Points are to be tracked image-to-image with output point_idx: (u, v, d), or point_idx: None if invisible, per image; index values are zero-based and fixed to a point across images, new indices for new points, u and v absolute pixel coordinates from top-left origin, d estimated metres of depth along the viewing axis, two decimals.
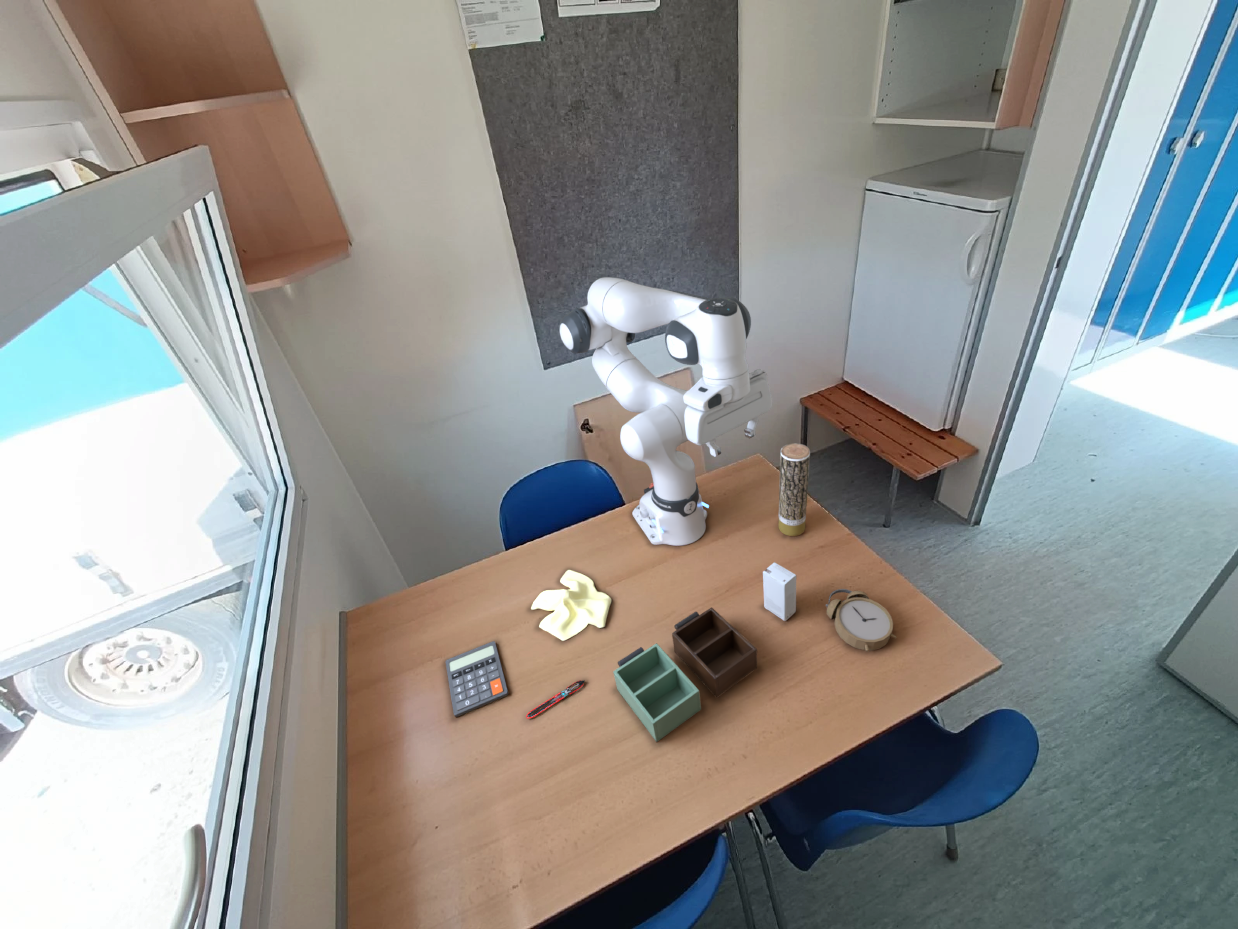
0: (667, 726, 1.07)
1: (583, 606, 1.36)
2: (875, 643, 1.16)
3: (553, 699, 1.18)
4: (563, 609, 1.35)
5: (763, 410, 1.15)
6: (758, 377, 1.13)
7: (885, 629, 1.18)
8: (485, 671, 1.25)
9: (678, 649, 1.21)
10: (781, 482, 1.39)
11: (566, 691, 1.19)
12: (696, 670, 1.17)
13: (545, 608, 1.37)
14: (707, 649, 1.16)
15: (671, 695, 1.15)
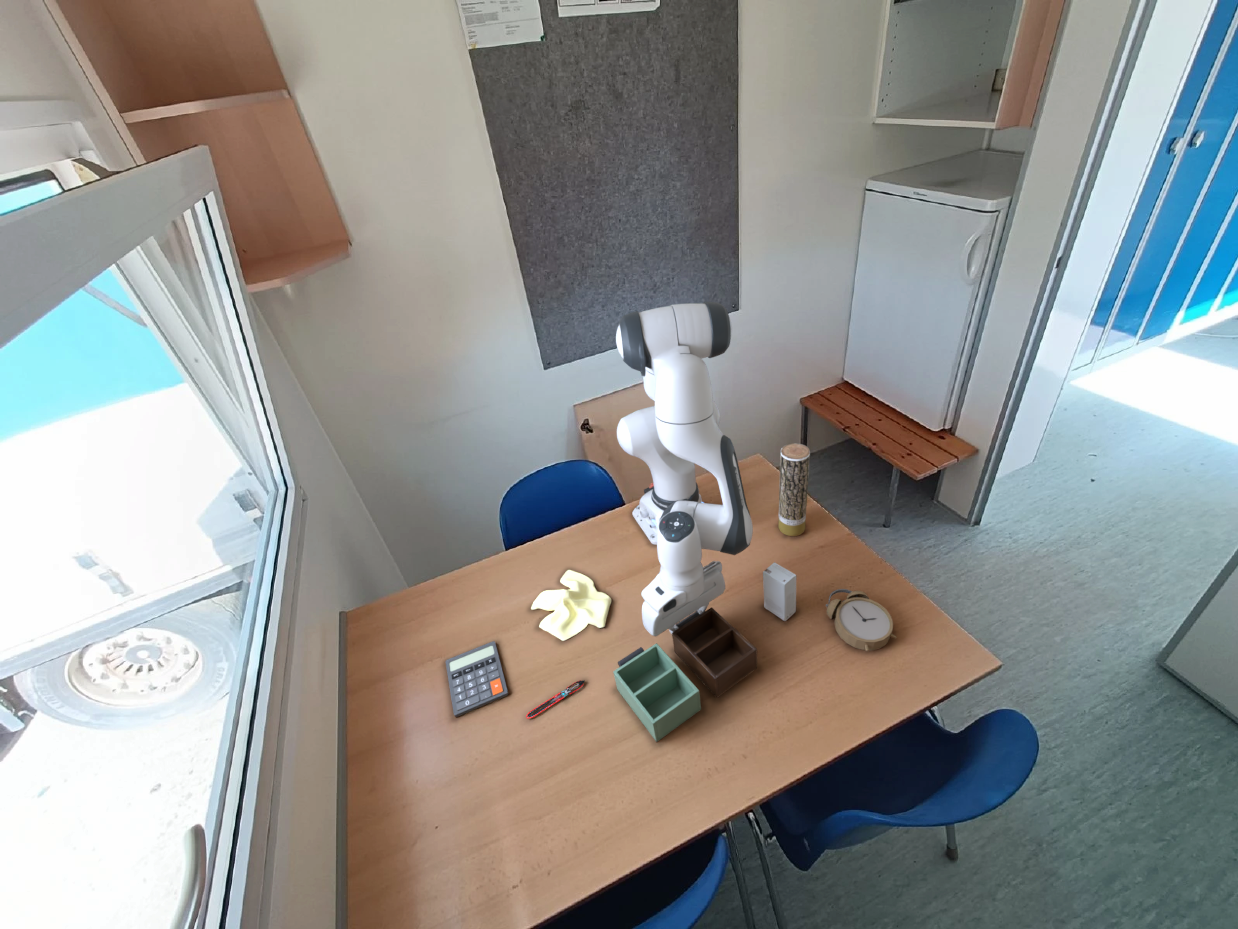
0: (667, 726, 1.07)
1: (583, 606, 1.36)
2: (875, 643, 1.16)
3: (553, 699, 1.18)
4: (563, 609, 1.35)
5: (716, 595, 1.23)
6: (713, 568, 1.21)
7: (885, 629, 1.18)
8: (485, 671, 1.25)
9: (678, 649, 1.21)
10: (781, 482, 1.39)
11: (566, 691, 1.19)
12: (696, 670, 1.17)
13: (545, 608, 1.37)
14: (707, 649, 1.16)
15: (671, 695, 1.15)
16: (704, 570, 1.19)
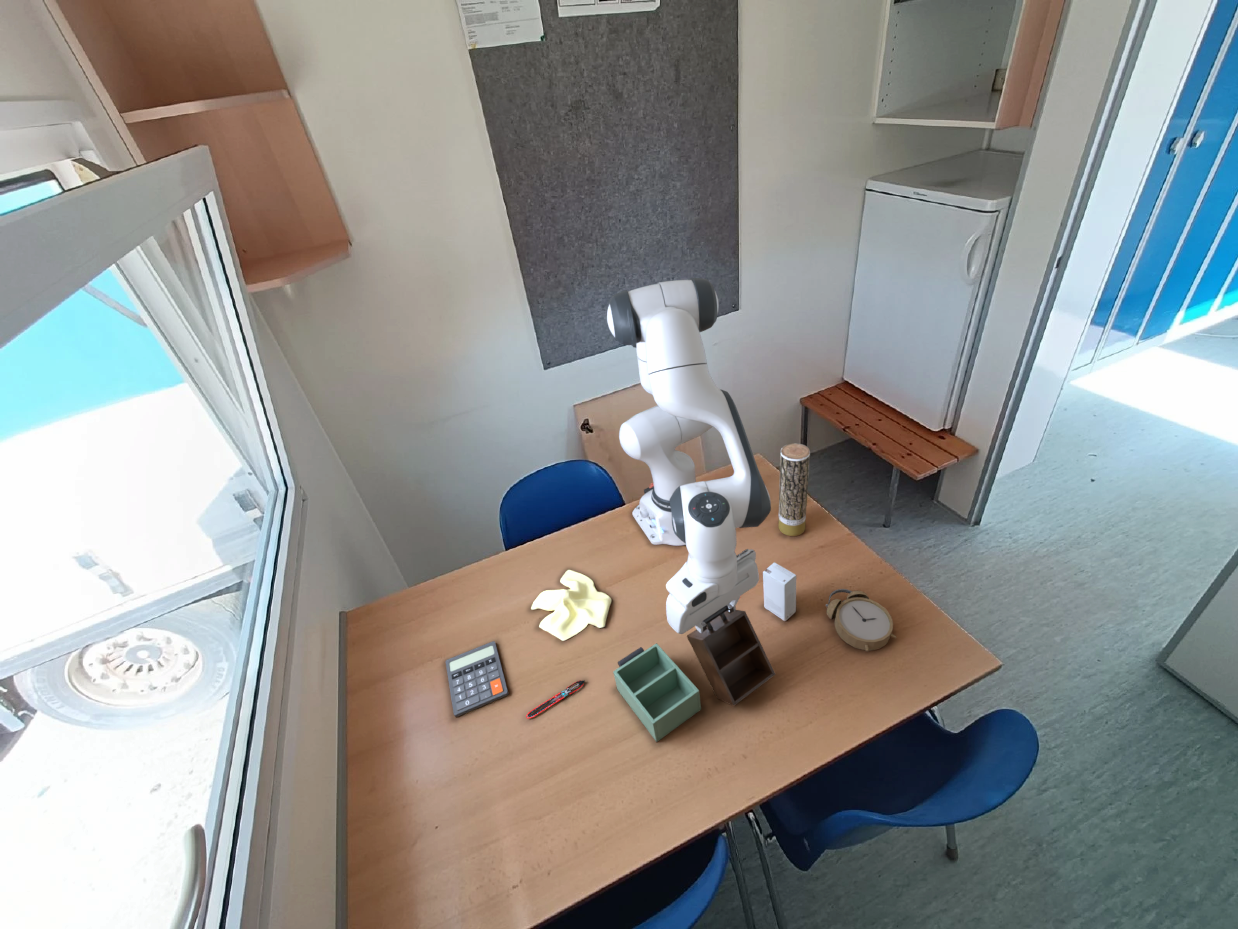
0: (667, 726, 1.07)
1: (583, 606, 1.36)
2: (875, 643, 1.16)
3: (553, 699, 1.18)
4: (563, 609, 1.35)
5: (749, 588, 1.09)
6: (746, 558, 1.07)
7: (885, 629, 1.18)
8: (485, 671, 1.25)
9: (697, 646, 1.11)
10: (781, 482, 1.39)
11: (566, 691, 1.19)
12: (708, 672, 1.11)
13: (545, 608, 1.37)
14: None
15: (671, 695, 1.15)
16: (736, 559, 1.05)
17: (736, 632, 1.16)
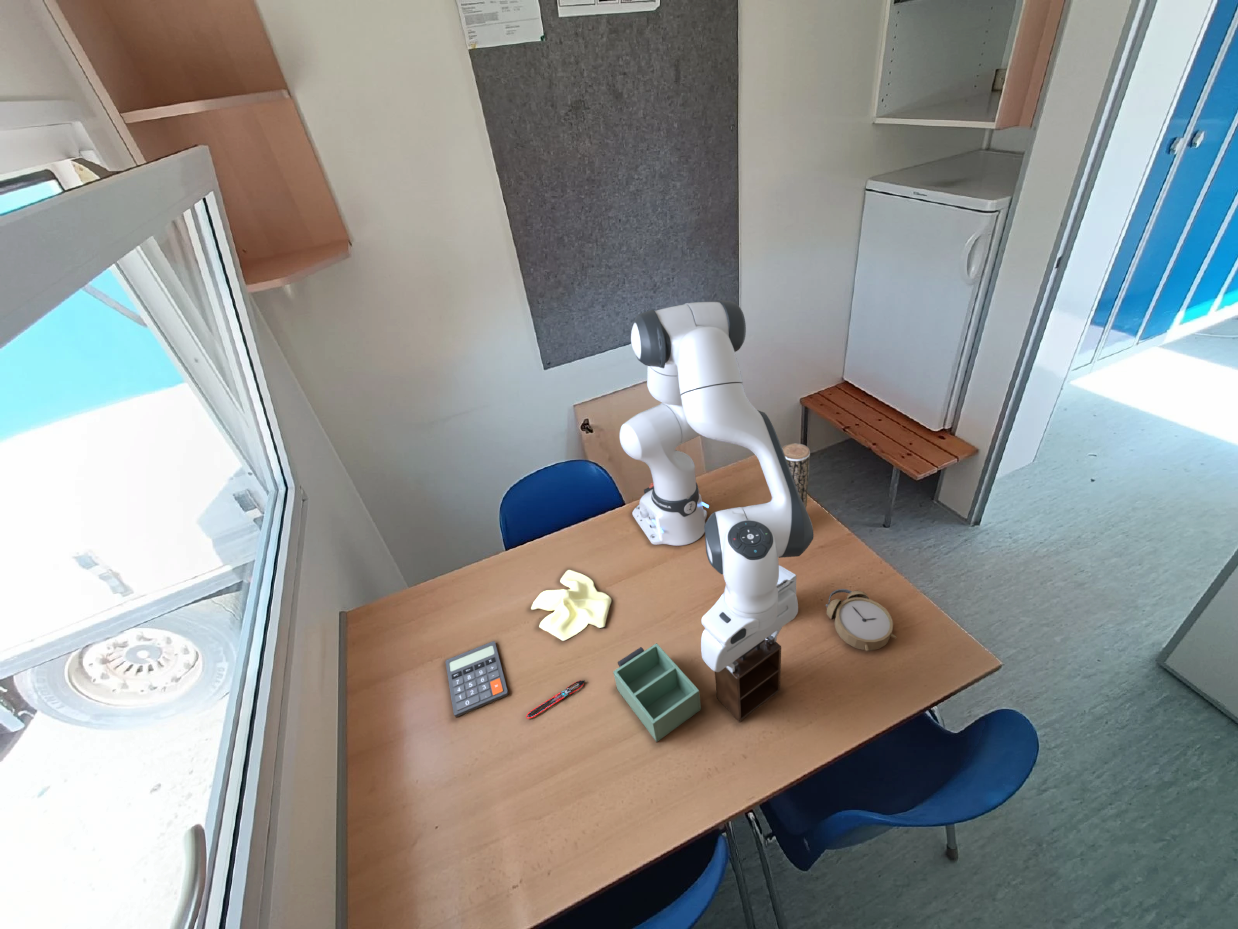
0: (667, 726, 1.07)
1: (583, 606, 1.36)
2: (875, 643, 1.16)
3: (553, 699, 1.18)
4: (563, 609, 1.35)
5: (787, 620, 1.02)
6: (785, 589, 1.00)
7: (885, 629, 1.18)
8: (485, 671, 1.25)
9: (723, 670, 1.04)
10: None
11: (566, 691, 1.19)
12: (722, 687, 1.08)
13: (545, 608, 1.37)
14: None
15: (671, 695, 1.15)
16: None
17: None
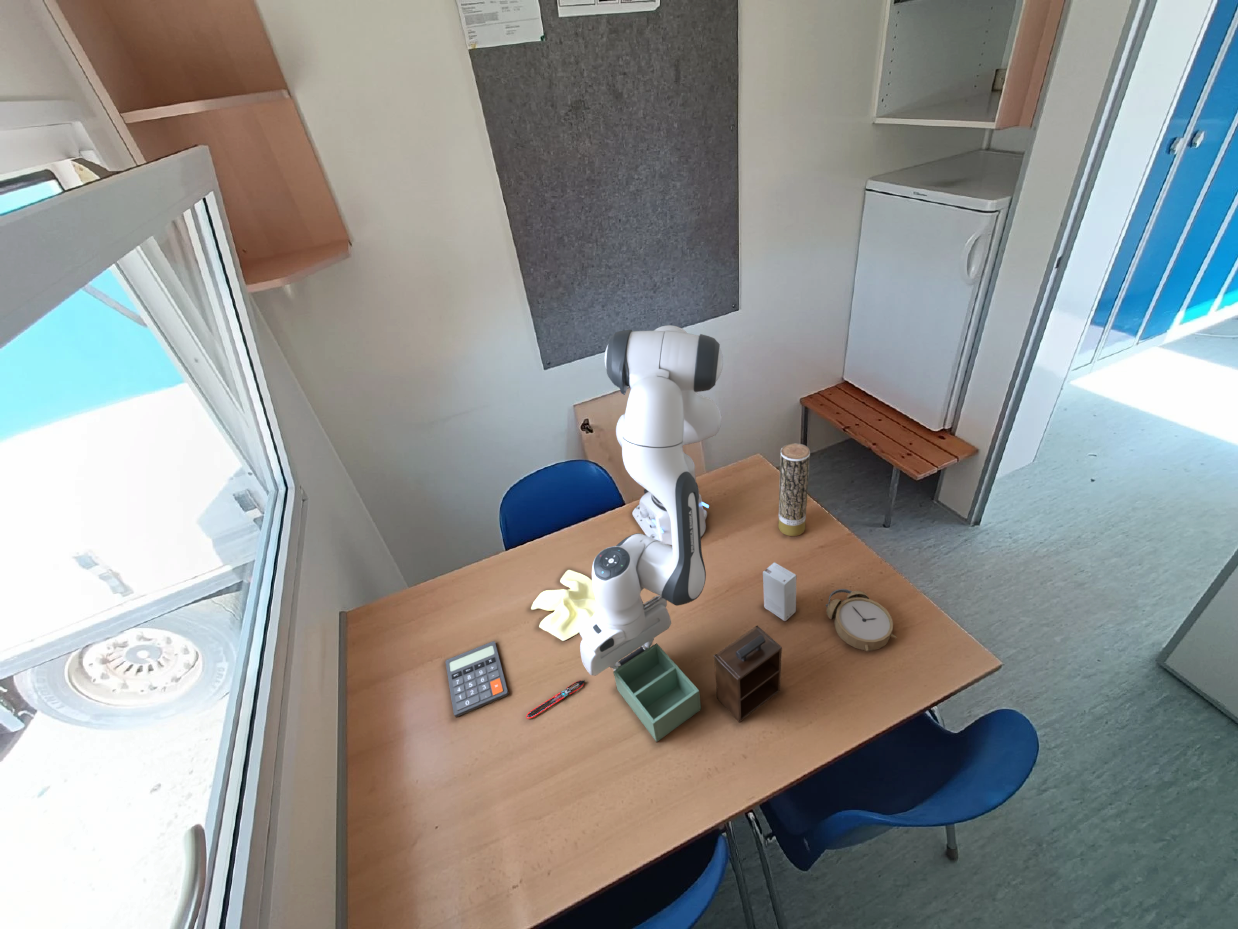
0: (667, 726, 1.07)
1: (583, 606, 1.36)
2: (875, 643, 1.16)
3: (553, 699, 1.18)
4: (563, 609, 1.35)
5: (661, 631, 1.18)
6: (656, 604, 1.15)
7: (885, 629, 1.18)
8: (485, 671, 1.25)
9: (724, 671, 1.04)
10: (781, 482, 1.39)
11: (566, 691, 1.19)
12: (722, 688, 1.08)
13: (545, 608, 1.37)
14: None
15: (671, 695, 1.14)
16: (646, 606, 1.14)
17: None
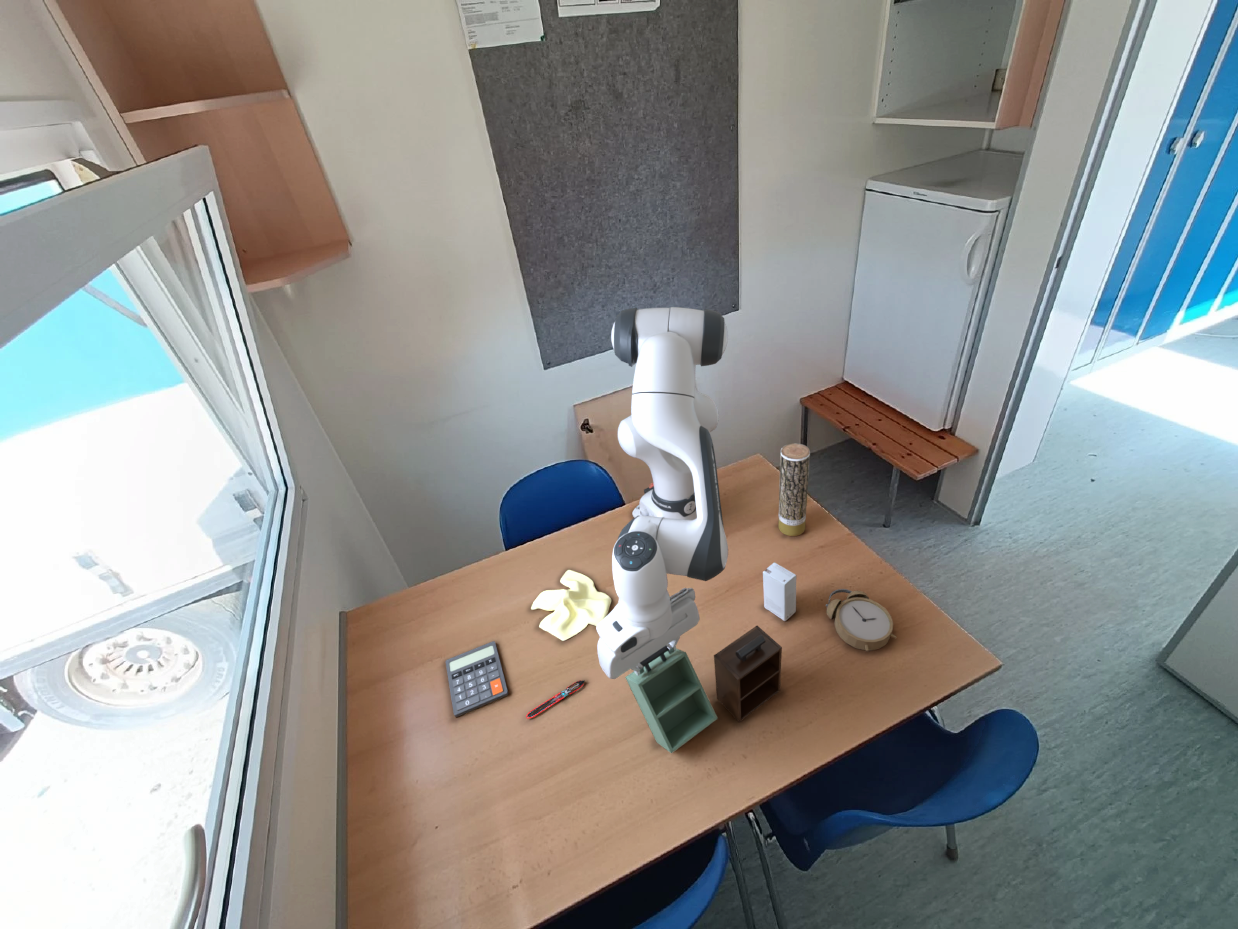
0: None
1: (583, 606, 1.36)
2: (875, 643, 1.16)
3: (553, 699, 1.18)
4: (563, 609, 1.35)
5: (688, 628, 1.04)
6: (684, 597, 1.01)
7: (885, 629, 1.18)
8: (485, 671, 1.25)
9: (724, 671, 1.04)
10: (781, 482, 1.39)
11: (566, 691, 1.19)
12: (722, 688, 1.08)
13: (545, 608, 1.37)
14: None
15: None
16: (673, 599, 0.99)
17: None
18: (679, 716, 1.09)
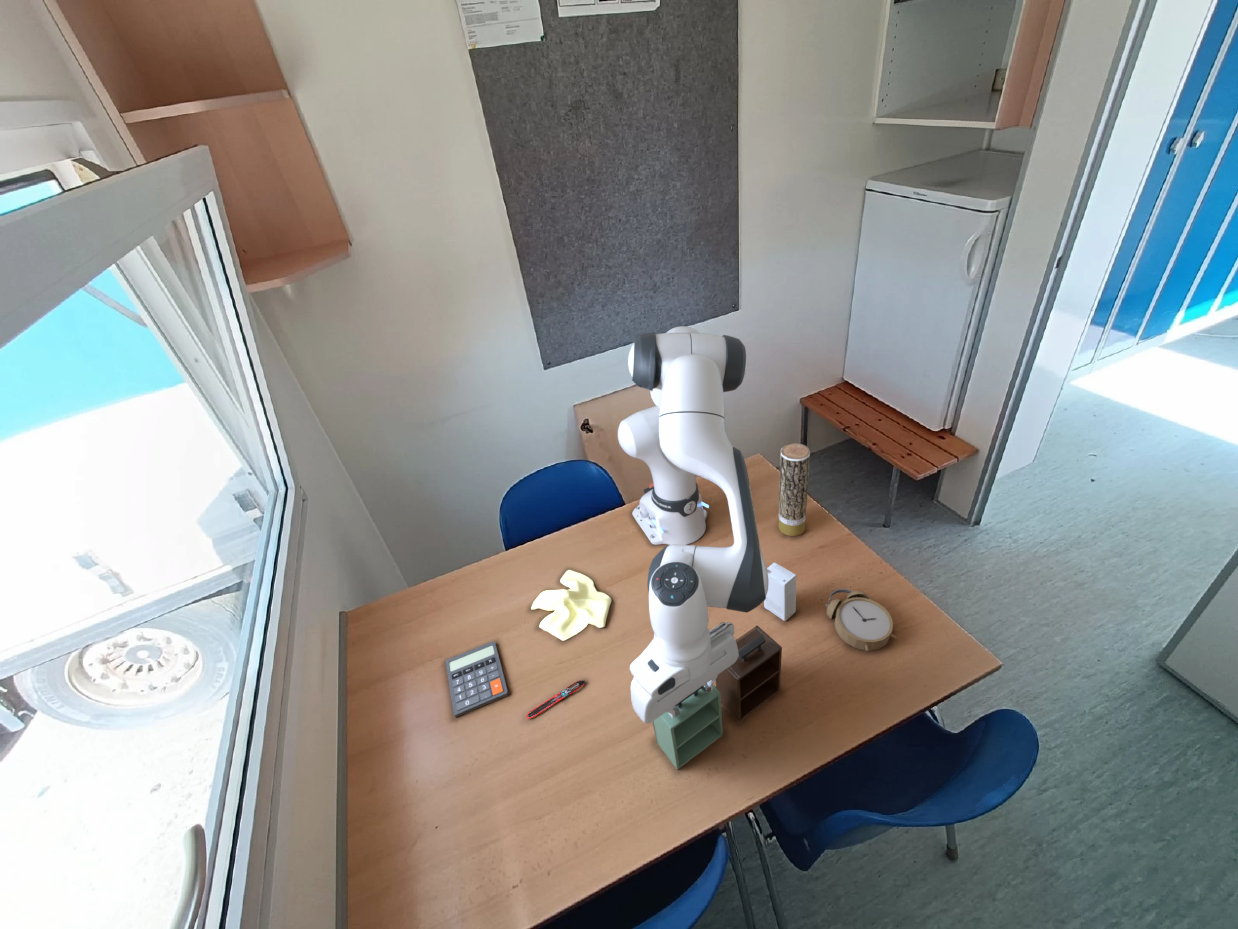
0: None
1: (583, 606, 1.36)
2: (875, 643, 1.16)
3: (553, 699, 1.18)
4: (563, 609, 1.35)
5: (727, 665, 0.96)
6: (723, 632, 0.93)
7: (885, 629, 1.18)
8: (485, 671, 1.25)
9: (724, 671, 1.04)
10: (781, 482, 1.39)
11: (566, 691, 1.19)
12: (722, 688, 1.08)
13: (545, 608, 1.37)
14: None
15: None
16: (711, 635, 0.92)
17: None
18: None
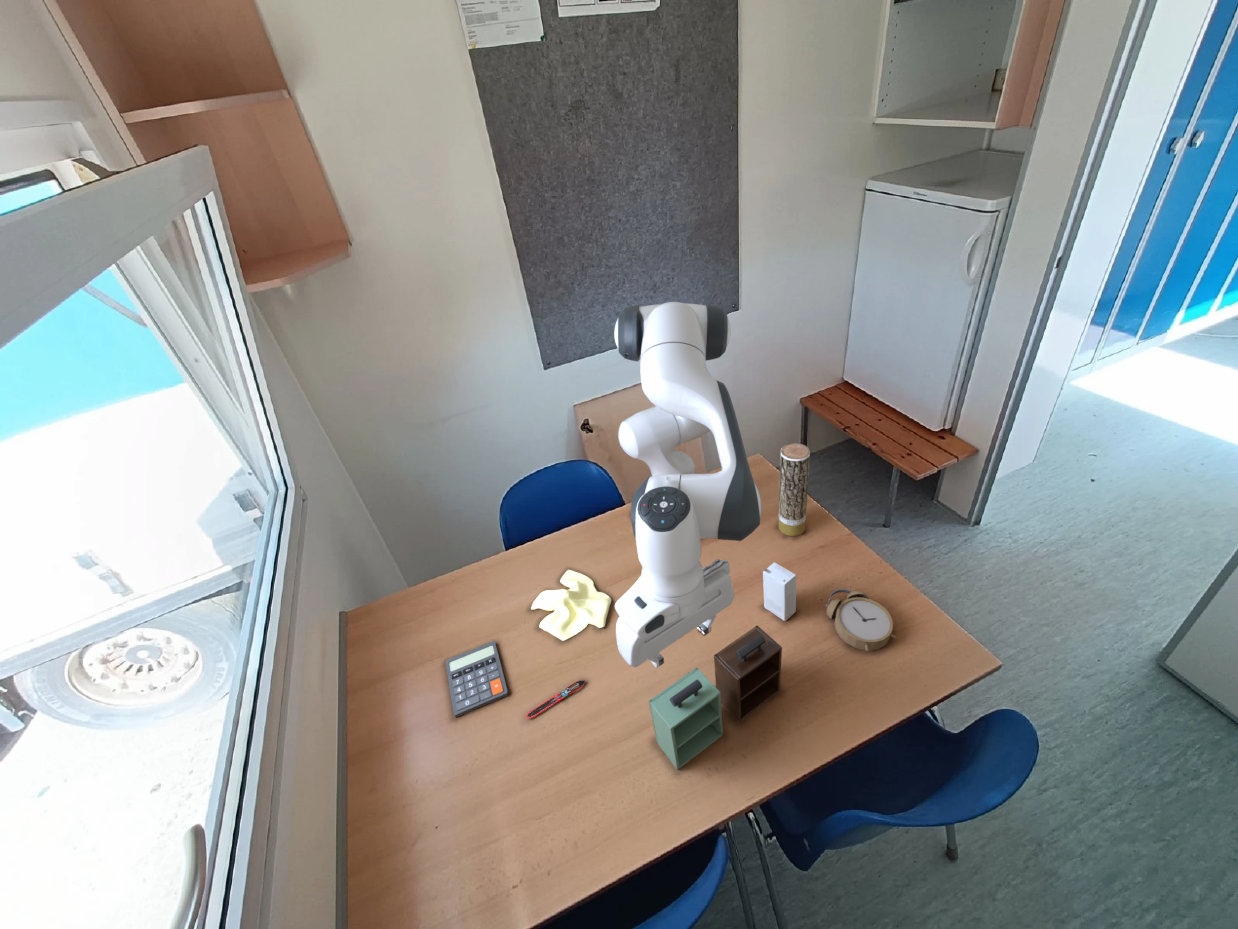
0: None
1: (583, 606, 1.36)
2: (875, 643, 1.16)
3: (553, 699, 1.18)
4: (563, 609, 1.35)
5: (722, 607, 0.88)
6: (717, 570, 0.86)
7: (885, 629, 1.18)
8: (485, 671, 1.25)
9: (724, 671, 1.04)
10: (781, 482, 1.39)
11: (566, 691, 1.19)
12: (722, 688, 1.08)
13: (545, 608, 1.37)
14: None
15: None
16: (705, 572, 0.84)
17: None
18: None
